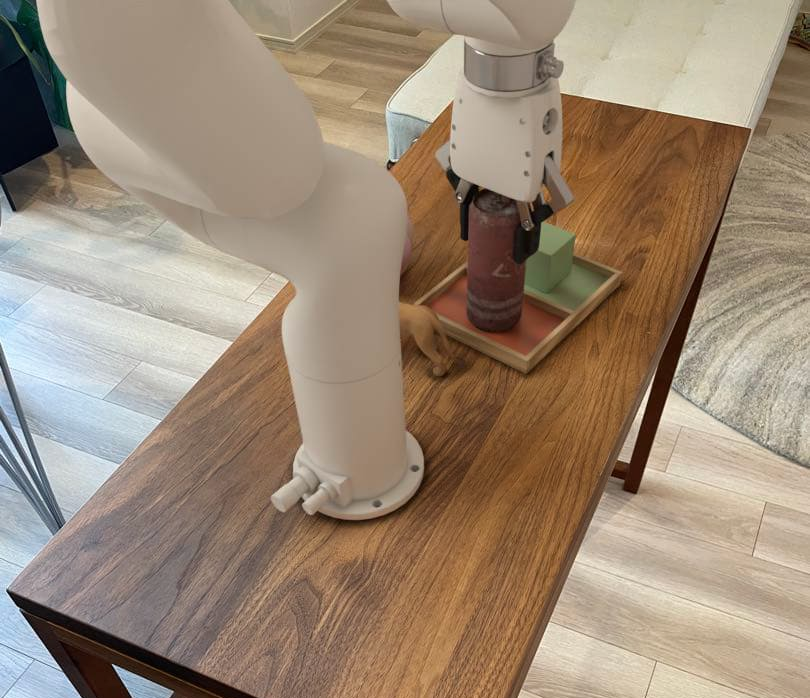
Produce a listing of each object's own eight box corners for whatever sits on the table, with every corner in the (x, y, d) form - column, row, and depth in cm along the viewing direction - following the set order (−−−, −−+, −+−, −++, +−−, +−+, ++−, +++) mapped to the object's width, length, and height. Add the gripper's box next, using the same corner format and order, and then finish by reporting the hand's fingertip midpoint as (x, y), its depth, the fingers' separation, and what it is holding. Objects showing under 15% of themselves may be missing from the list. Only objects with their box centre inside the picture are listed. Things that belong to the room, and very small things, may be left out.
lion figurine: (329, 358, 91) (319, 289, 83) (346, 328, 94) (337, 258, 86) (459, 382, 87) (460, 312, 80) (472, 350, 90) (474, 279, 83)
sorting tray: (526, 374, 88) (527, 361, 86) (412, 318, 94) (411, 305, 93) (620, 285, 96) (622, 271, 95) (509, 239, 103) (510, 226, 101)
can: (521, 299, 94) (531, 181, 83) (520, 335, 90) (531, 217, 79) (467, 297, 95) (471, 180, 84) (464, 333, 91) (467, 215, 80)
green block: (546, 294, 94) (551, 255, 90) (510, 278, 97) (513, 239, 93) (571, 272, 97) (576, 234, 93) (535, 257, 99) (538, 219, 95)
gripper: (618, 69, 69) (590, 257, 84) (454, 20, 76) (454, 202, 91) (569, 105, 66) (548, 295, 80) (402, 51, 73) (410, 234, 87)
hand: (498, 244), depth 85 cm, fingers closed on can, 6 cm apart
